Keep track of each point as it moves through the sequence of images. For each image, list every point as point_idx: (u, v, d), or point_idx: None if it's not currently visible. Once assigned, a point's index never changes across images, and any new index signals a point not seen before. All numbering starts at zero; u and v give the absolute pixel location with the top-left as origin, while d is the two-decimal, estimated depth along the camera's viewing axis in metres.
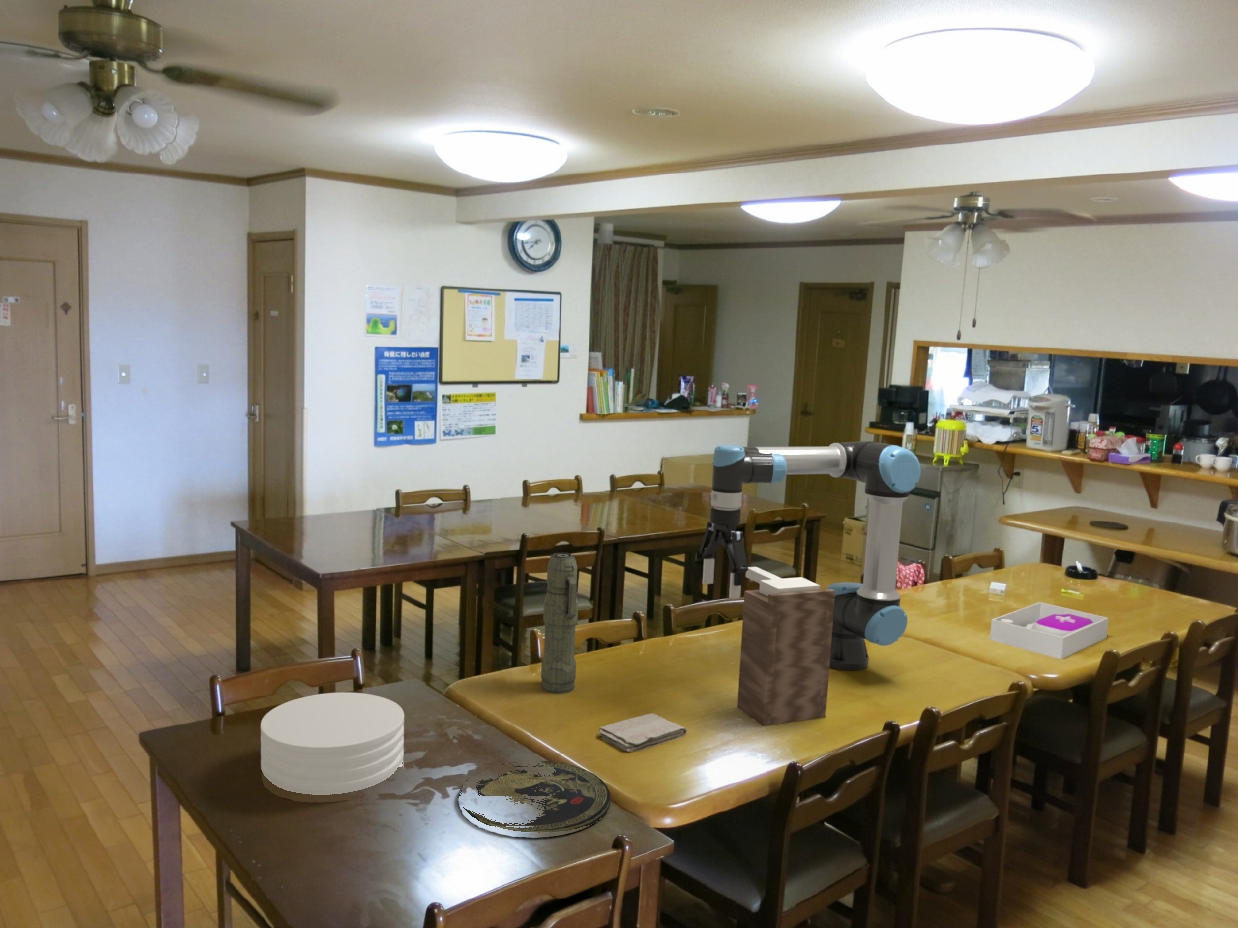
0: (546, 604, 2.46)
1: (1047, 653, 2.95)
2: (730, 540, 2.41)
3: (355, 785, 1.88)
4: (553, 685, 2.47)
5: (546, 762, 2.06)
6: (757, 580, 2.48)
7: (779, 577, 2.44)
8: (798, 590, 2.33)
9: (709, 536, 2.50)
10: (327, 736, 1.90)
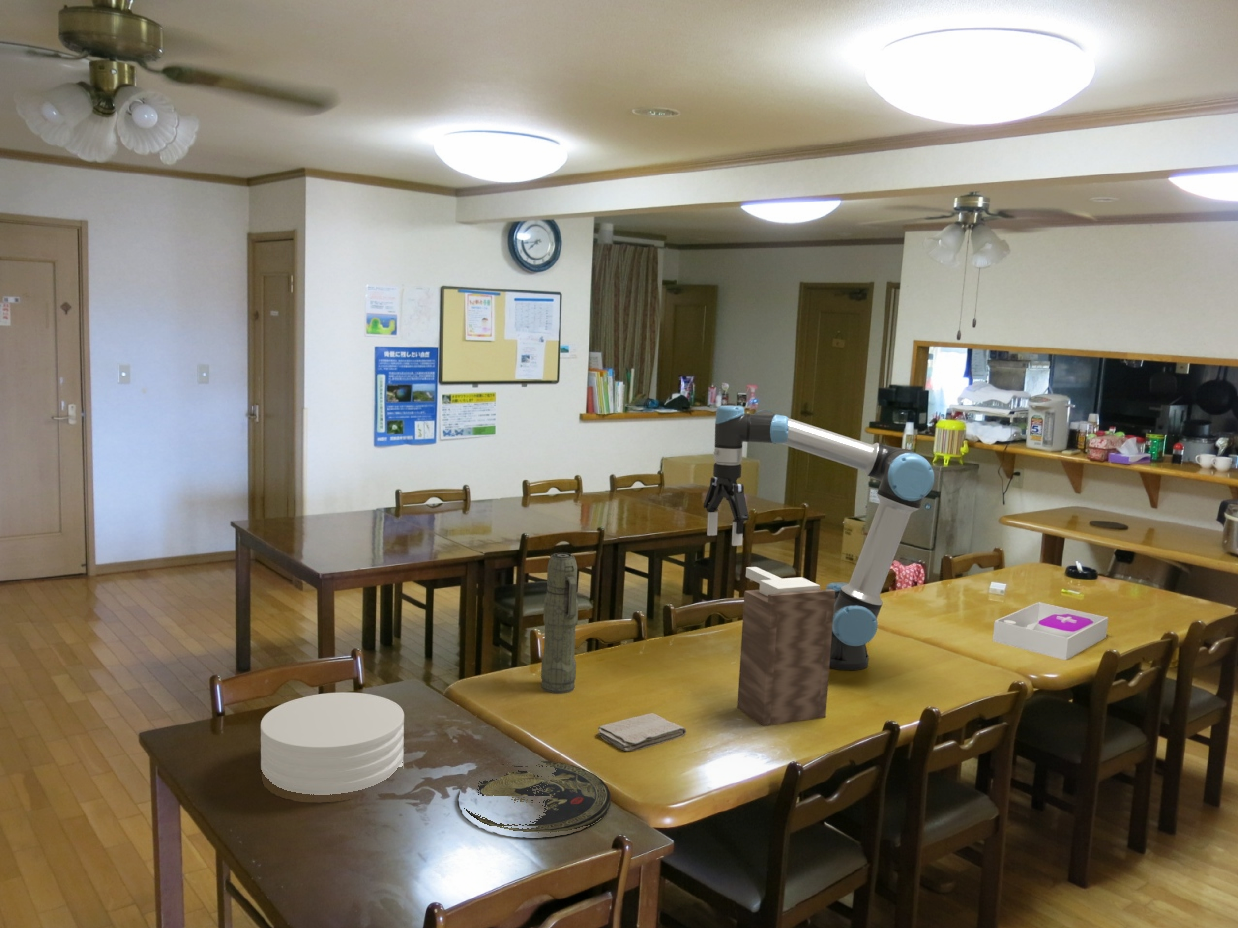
0: (546, 604, 2.46)
1: (1051, 654, 2.95)
2: (732, 493, 2.62)
3: (355, 785, 1.88)
4: (553, 685, 2.47)
5: (546, 762, 2.06)
6: (757, 580, 2.48)
7: (779, 577, 2.44)
8: (798, 590, 2.33)
9: (712, 491, 2.70)
10: (327, 736, 1.90)
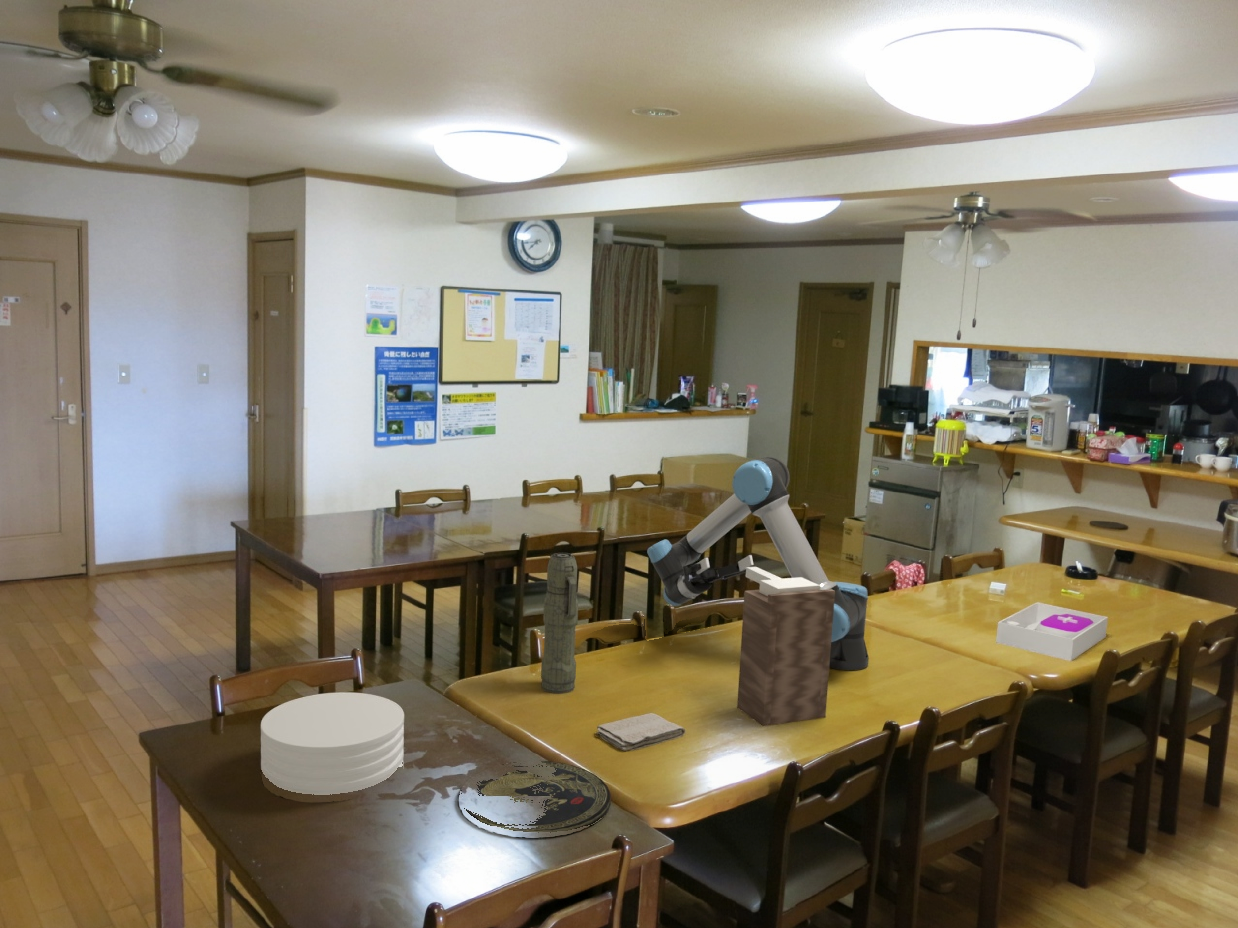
0: (546, 604, 2.46)
1: (1056, 655, 2.94)
2: None
3: (355, 785, 1.88)
4: (553, 685, 2.47)
5: (546, 762, 2.06)
6: (757, 580, 2.48)
7: (779, 577, 2.44)
8: (798, 590, 2.33)
9: None
10: (327, 736, 1.90)
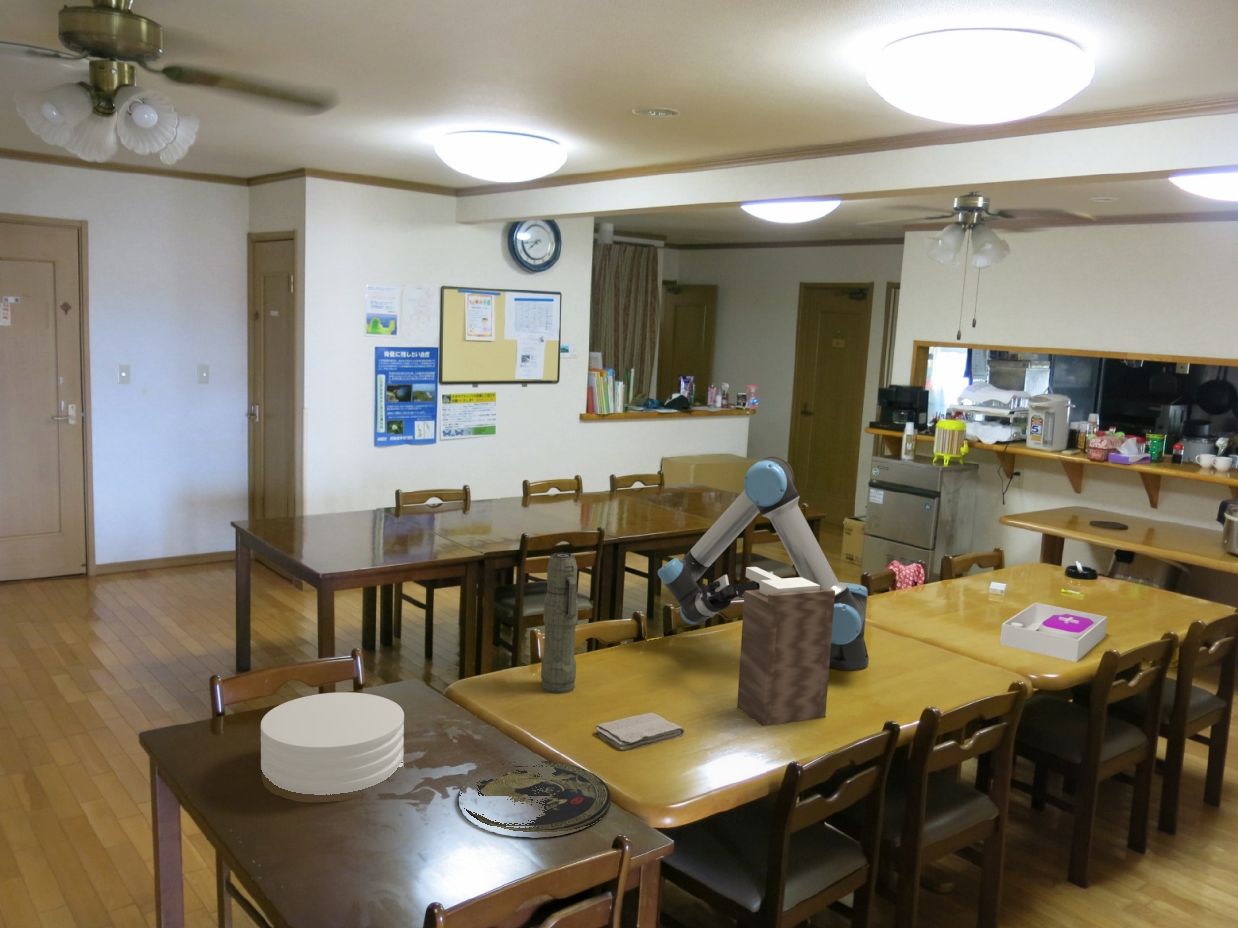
0: (546, 604, 2.46)
1: (1061, 656, 2.93)
2: None
3: (355, 785, 1.88)
4: (553, 685, 2.47)
5: (546, 762, 2.06)
6: (757, 580, 2.48)
7: (779, 577, 2.44)
8: (798, 590, 2.33)
9: None
10: (327, 736, 1.90)
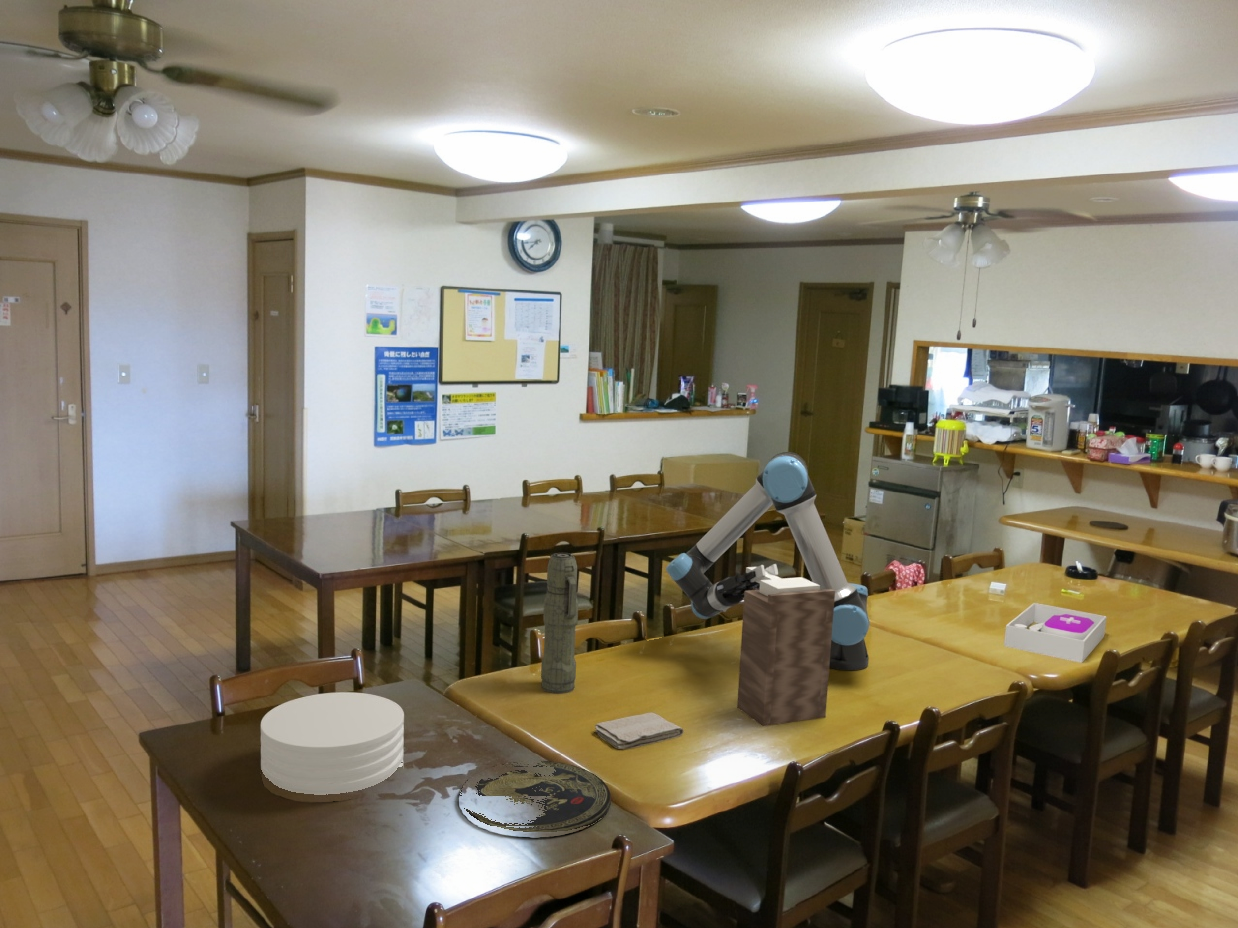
0: (546, 604, 2.46)
1: (1067, 657, 2.92)
2: None
3: (355, 785, 1.88)
4: (553, 685, 2.47)
5: (546, 762, 2.06)
6: (757, 580, 2.48)
7: (779, 577, 2.44)
8: (798, 590, 2.33)
9: None
10: (327, 736, 1.90)
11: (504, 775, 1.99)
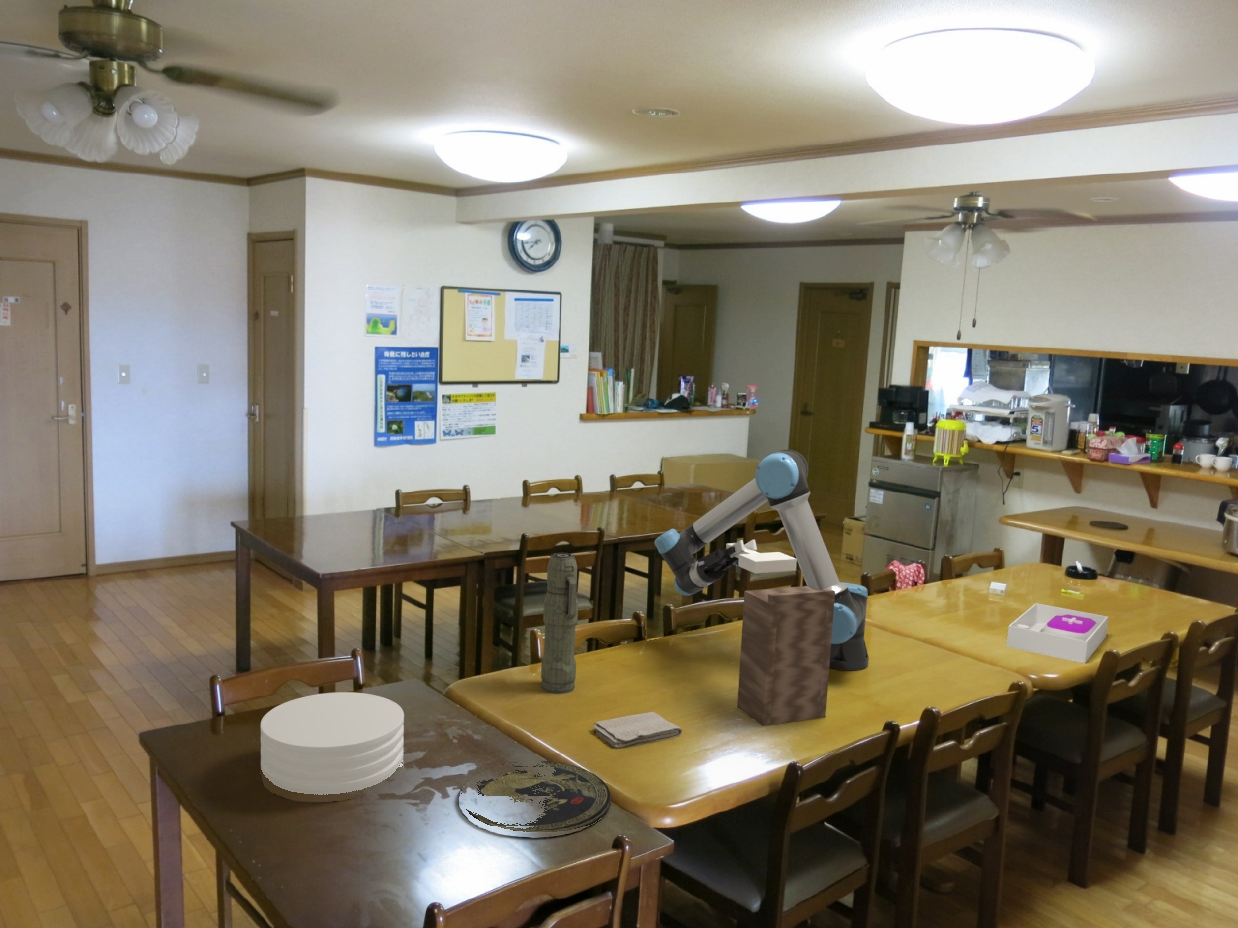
0: (546, 604, 2.46)
1: (1070, 658, 2.92)
2: None
3: (355, 785, 1.88)
4: (553, 685, 2.47)
5: (546, 762, 2.06)
6: (737, 555, 2.56)
7: (758, 552, 2.52)
8: (775, 563, 2.42)
9: None
10: (327, 736, 1.90)
11: (504, 775, 1.99)
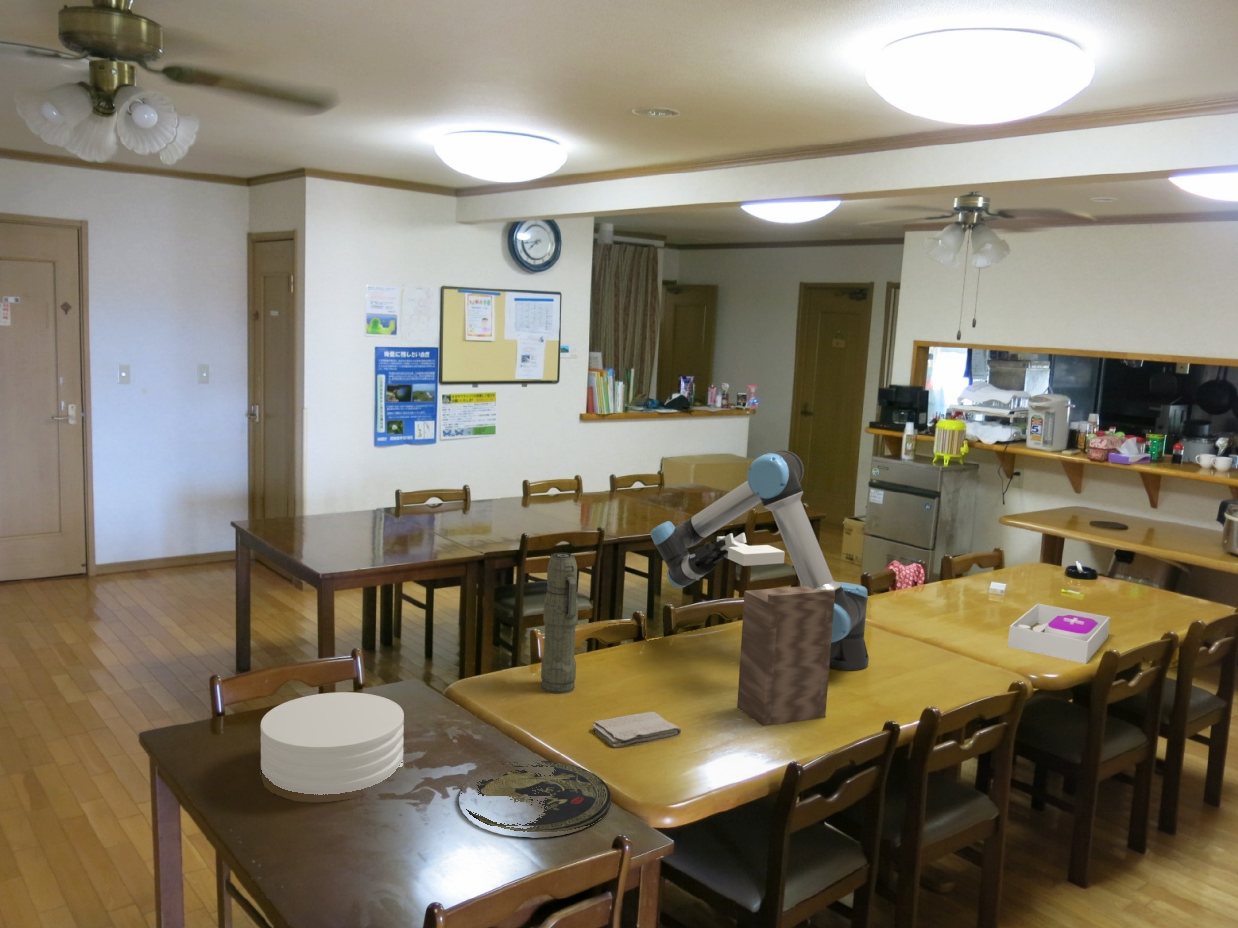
0: (546, 604, 2.46)
1: (1071, 658, 2.92)
2: None
3: (355, 785, 1.88)
4: (553, 685, 2.47)
5: (546, 762, 2.06)
6: (727, 548, 2.62)
7: (747, 545, 2.58)
8: (763, 556, 2.47)
9: None
10: (327, 736, 1.90)
11: (504, 775, 1.99)
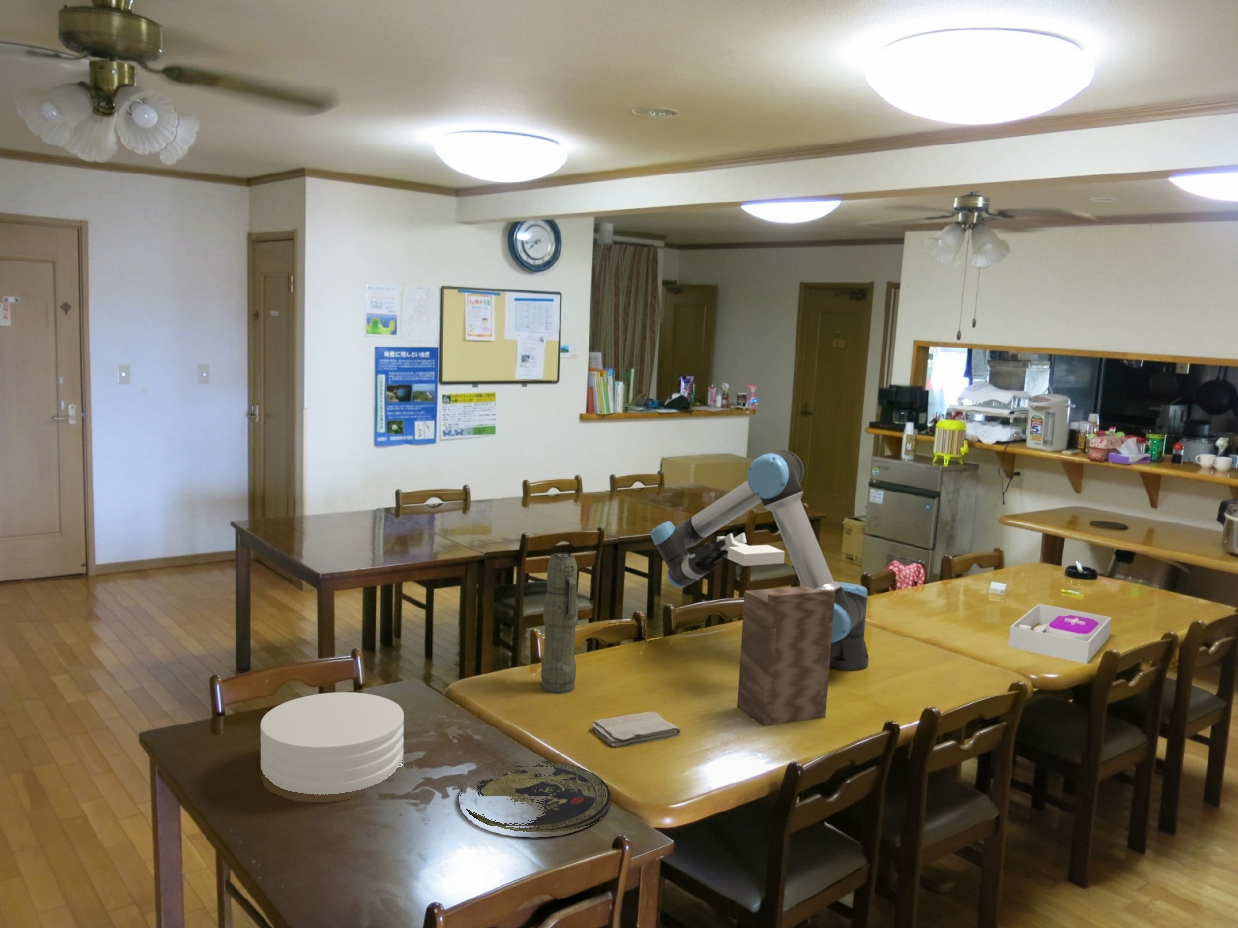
0: (546, 604, 2.46)
1: (1071, 658, 2.92)
2: None
3: (355, 785, 1.88)
4: (553, 685, 2.47)
5: (546, 762, 2.06)
6: (727, 548, 2.62)
7: (747, 545, 2.58)
8: (763, 556, 2.47)
9: None
10: (327, 736, 1.90)
11: (504, 775, 1.99)
